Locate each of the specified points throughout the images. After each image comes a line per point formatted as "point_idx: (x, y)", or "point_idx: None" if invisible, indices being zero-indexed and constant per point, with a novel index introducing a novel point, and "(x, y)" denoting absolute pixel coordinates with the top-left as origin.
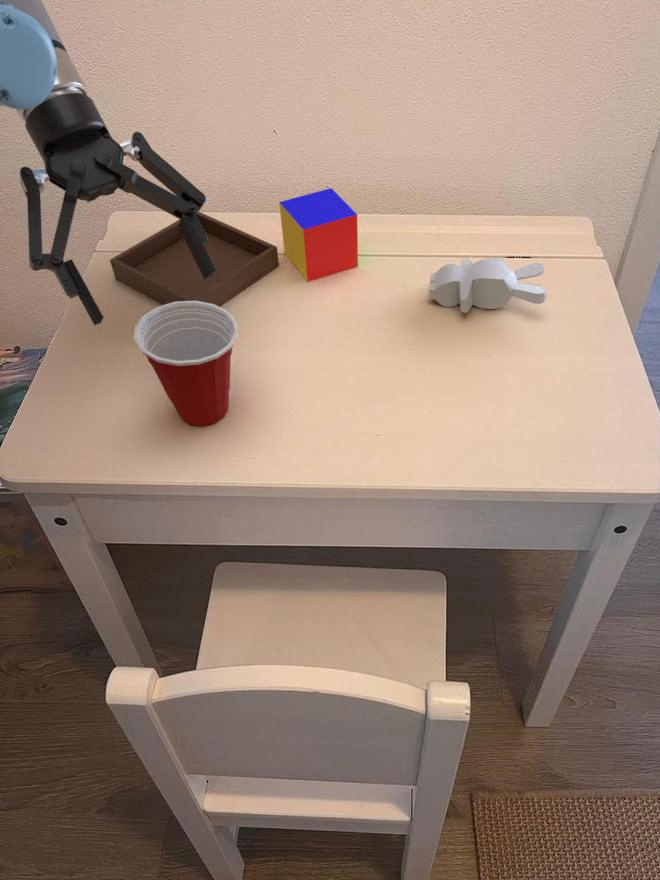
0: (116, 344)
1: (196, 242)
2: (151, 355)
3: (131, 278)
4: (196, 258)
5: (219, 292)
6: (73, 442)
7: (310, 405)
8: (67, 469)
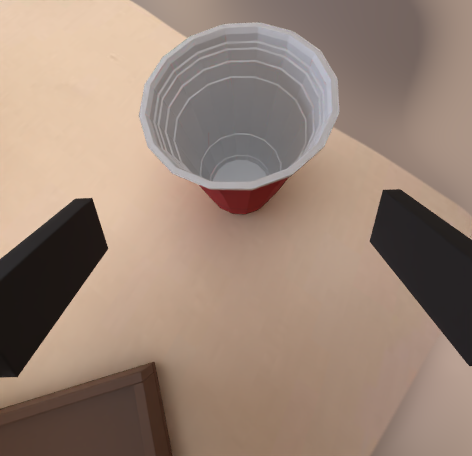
0: (284, 392)
1: (38, 240)
2: (326, 61)
3: None
4: (80, 265)
5: (81, 387)
6: None
7: (137, 125)
8: (417, 192)
